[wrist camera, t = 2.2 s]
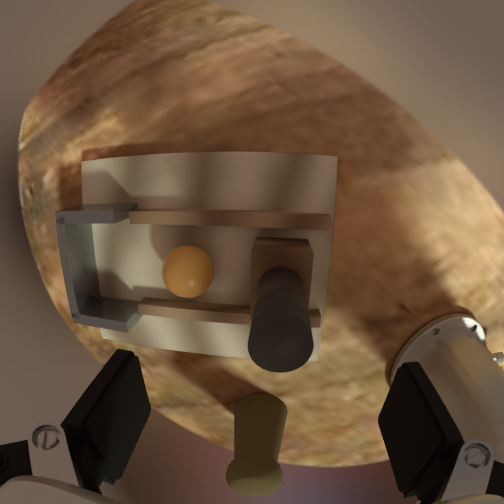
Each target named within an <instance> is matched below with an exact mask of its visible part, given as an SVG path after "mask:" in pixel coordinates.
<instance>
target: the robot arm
mask: <svg viewBox="0 0 504 504" xmlns="http://www.w3.org/2000/svg"><path fill="white" fill-rule="evenodd" d="M503 360H504V354H503V352H497V353H494V354H492V353H491V352H490V351H489V350H488V349H487V347H486V346H485V334H484V331H483V328H482V326H481V325H480V323H479V322H478V321H477V320H476V319H474V318H473V317H471V316H470V315H468V314H463V313H452V314H448V315H445V316H442V317H440V318H437V319H435V320H433V321H432V322H430V323H429V324H427V325H425V326H424V327H423V328H421V329H420V330H419V331H418V332H417V333H415V334H414V335H413V336H412V338H411V339H410V340H409V341H408V342H407V343H406V344H405V346H404V347H403V348H402V350H401V351H400V353H399V354H398V356H397V358H396V360H395V362H394V365H393V367H392V371H391V377H390V381H391V387H390V390H389V392H388V395H387V397H386V400H385V402H384V405H383V407H382V410H381V412H380V414H379V418H378V424H379V427H380V430H381V434H382V437H383V440H384V443H385V446H386V449H387V453H388V456H389V459H390V462H391V466H392V469H393V473H394V476H395V479H396V483H397V486H398V490H399V491H400V492H403V495H404V498H406V497H410V496H413V495H417V498H418V502H417V504H504V370H503V368H502V367H501V366H499V365H498V363H502V362H503ZM150 411H151V406H150V402H149V399H148V395H147V391H146V387H145V383H144V379H143V375H142V371H141V367H140V362H139V358H138V357H137V356H135V354H134V353H133V352H132V351H127V350H122V349H117V350H116V351H115V353H114V354H113V355H112V357H111V358H110V359H109V360H108V362H107V363H106V364H105V366H104V367H103V368H102V370H101V371H100V372H99V374H98V375H97V376H96V378H95V379H94V380H93V381H92V382H91V384H90V385H89V386H88V388H87V389H86V390H85V392H84V393H83V394H82V396H81V397H80V399H79V400H78V401H77V403H76V404H75V406H74V407H73V408H72V410H71V411H70V412H69V414H68V415H67V417H66V418H65V419H64V421H63V422H62V423H61V425H58V424H56V423H54V422H50V421H49V422H41V423H38V424H37V425H35V426H34V427H33V428H32V429H31V430H30V432H29V434H28V440H24V441H20V442H14V443H9V444H4V445H0V504H128V503H124V502H121V501H118V500H115V499H112V498H109V497H106V496H103V494H102V492H101V489H100V487H99V486H100V485H101V483H102V481H104V482H107V483H110V484H113V485H114V483H115V481H116V479H120V478H121V477H122V474H123V472H124V470H125V468H126V466H127V463H128V461H129V459H130V456H131V455H132V452H133V450H134V448H135V445H136V443H137V441H138V439H139V437H140V435H141V432H142V430H143V428H144V426H145V424H146V422H147V419H148V417H149V415H150Z"/></svg>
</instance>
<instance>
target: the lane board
mask: <svg viewBox="0 0 504 504" xmlns="http://www.w3.org/2000/svg"><path fill="white" fill-rule="evenodd" d="M337 160H338V156H329V155H316V154H300V153H280V152H185V153H165V154H149V155H136V156H125V157H115V158H106V159H97V160H89V161H81V180H82V204H83V205H85V204H114V203H137V209H135V210H132V211H129V218H127V219H125V220H122V221H119V222H117V223H114V224H92V231H93V241H94V250H95V259H96V266H97V274H98V280H99V287H100V293H101V297H109V298H116V299H124V300H132V301H140V302H139V303H138V310H139V314H142V315H143V316H142V317H141V318H140V320H139V321H138V322H137V323H136V324H135V325H134V326H133V328H132V329H131V330H130V331H129V332H128V333H126V332H120V331H114V330H109V329H104V328H100V330H101V335H102V338H105V339H110V340H115V341H120V342H125V343H131V344H136V345H142V346H148V347H155V348H161V349H168V350H175V351H183V352H191V353H199V354H208V355H218V356H229V357H241V358H251V357H250V355H249V352H248V339H249V333H250V328H251V322H252V320H250V290H251V250H252V247H253V244H254V241H255V238H256V237H274V238H296V239H308V241H309V243H310V245H311V248H312V250H313V253H314V256H313V268H312V279H311V289H310V299H309V308H308V314H309V319H310V324H311V330H312V336H313V341H314V349H313V352H312V355H311V357H310V358H309V360H308V361H317V358H318V352H319V346H320V340H321V334H322V327H323V320H324V313H325V305H326V298H327V290H328V281H329V272H330V263H331V253H332V242H333V230H334V217H335V202H336V184H337ZM185 245H190V246H195V247H198V248H200V249H202V250H203V251H204V252H205V253H207V255H208V256H209V257H210V259H211V261H212V264H213V268H214V276H213V280H212V283H211V285H210V286H209V288H208V289H207V290H206V291H205V292H204V293H202V294H201V295H199V296H196V297H192V298H184V297H180V296H177V295H175V294H174V293H172V292H171V291H170V290H169V289H168V288H167V286H166V285H165V283H164V281H163V277H162V266H163V262H164V260H165V258H166V256H167V255H168V254H169V253H170V252H171V251H172V250H174V249H175V248H177V247H180V246H185Z"/></svg>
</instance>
